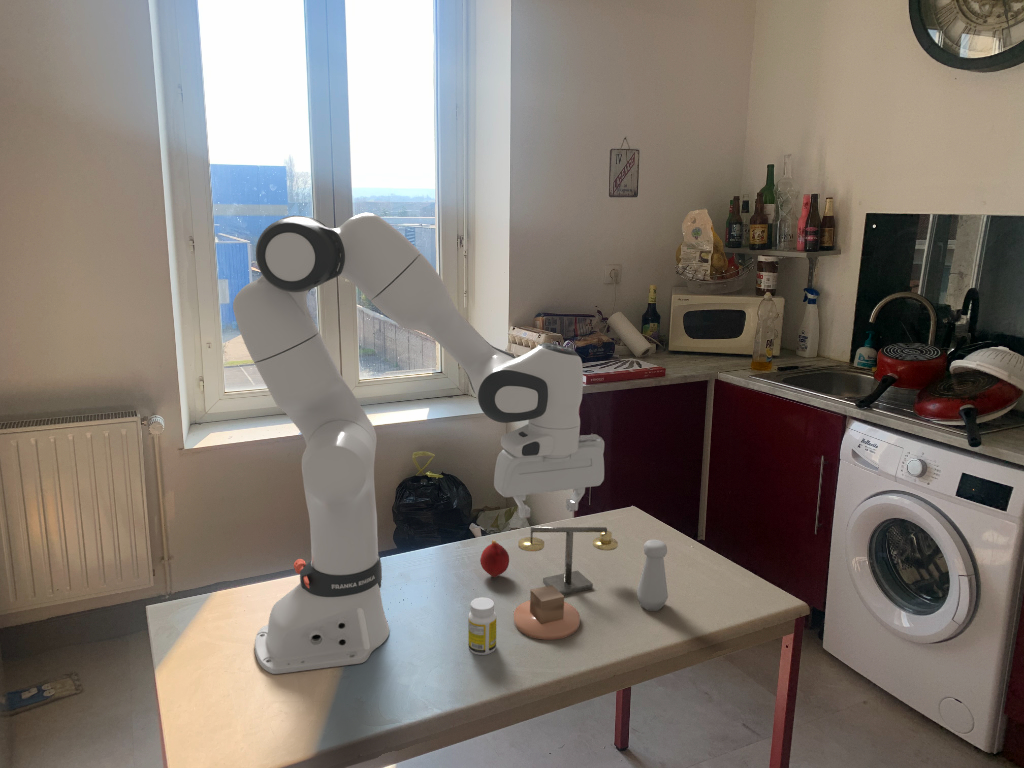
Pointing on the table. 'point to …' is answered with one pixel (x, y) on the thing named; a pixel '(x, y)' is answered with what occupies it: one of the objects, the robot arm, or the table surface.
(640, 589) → the salt shaker
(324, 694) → the table surface
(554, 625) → the dish
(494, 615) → the supplement bottle
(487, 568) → the onion
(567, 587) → the balance
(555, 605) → the block
